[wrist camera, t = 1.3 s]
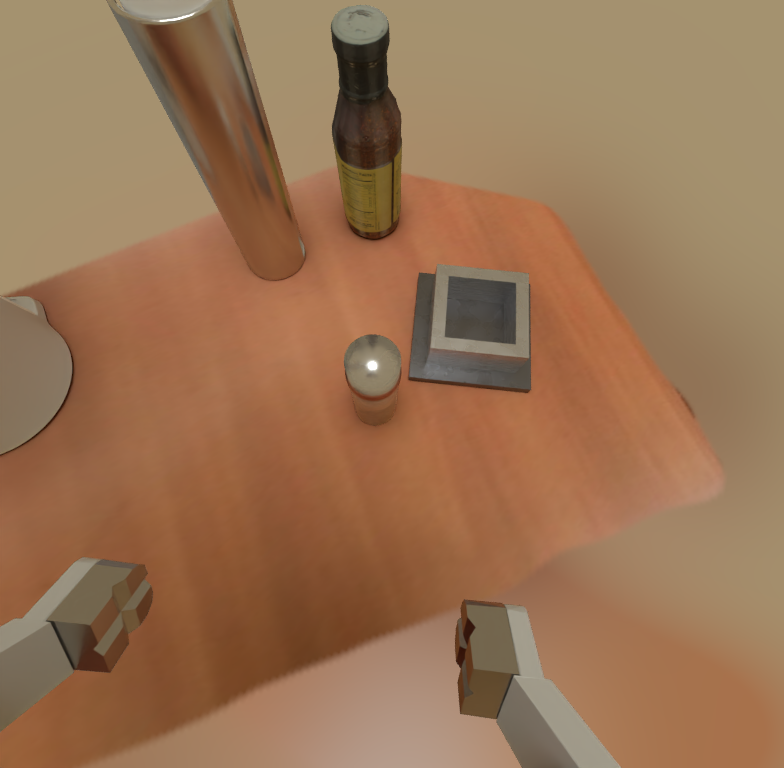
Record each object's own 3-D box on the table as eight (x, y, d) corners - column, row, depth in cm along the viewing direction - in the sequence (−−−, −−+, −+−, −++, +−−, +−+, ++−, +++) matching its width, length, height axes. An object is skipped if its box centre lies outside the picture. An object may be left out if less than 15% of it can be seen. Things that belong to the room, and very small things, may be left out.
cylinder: (351, 424, 39) (338, 385, 27) (357, 383, 40) (346, 330, 29) (394, 428, 39) (399, 392, 27) (398, 387, 40) (405, 336, 29)
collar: (408, 380, 40) (411, 361, 35) (418, 277, 44) (422, 249, 39) (527, 392, 40) (546, 376, 35) (526, 289, 44) (544, 261, 39)
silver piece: (265, 223, 46) (140, -91, 22) (316, 244, 45) (241, -58, 21) (235, 267, 44) (63, -25, 20) (287, 289, 43) (171, 13, 19)
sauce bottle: (373, 190, 48) (367, -24, 29) (410, 220, 46) (429, 18, 28) (332, 220, 46) (298, 17, 27) (370, 253, 45) (361, 63, 26)
